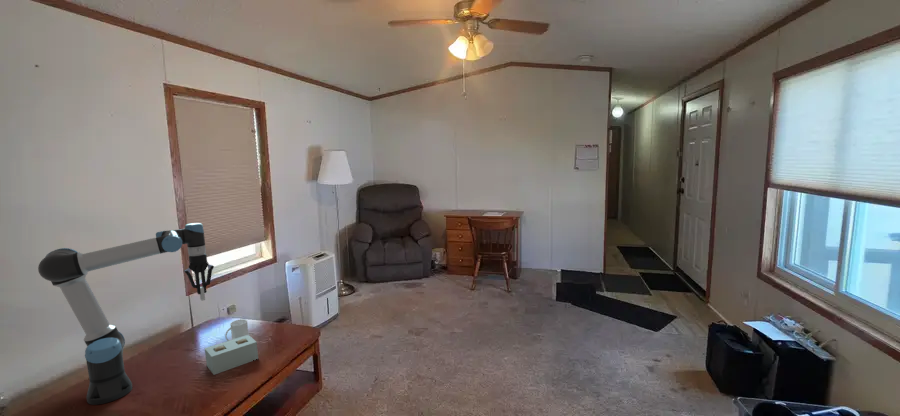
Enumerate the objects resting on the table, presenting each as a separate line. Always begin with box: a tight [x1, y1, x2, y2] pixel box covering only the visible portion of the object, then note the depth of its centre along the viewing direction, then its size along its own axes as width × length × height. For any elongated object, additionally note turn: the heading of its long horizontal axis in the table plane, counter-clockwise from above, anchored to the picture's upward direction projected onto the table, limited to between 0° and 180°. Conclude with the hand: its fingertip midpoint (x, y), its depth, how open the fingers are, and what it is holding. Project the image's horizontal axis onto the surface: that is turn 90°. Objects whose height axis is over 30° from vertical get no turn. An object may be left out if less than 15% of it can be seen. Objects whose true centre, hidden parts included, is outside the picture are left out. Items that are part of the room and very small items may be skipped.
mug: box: [224, 318, 250, 341], centre depth 218 cm, size 12×8×12 cm
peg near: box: [215, 346, 225, 352], centre depth 196 cm, size 4×4×8 cm
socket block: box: [204, 334, 259, 375], centre depth 200 cm, size 20×12×9 cm, turn 134°
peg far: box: [237, 339, 246, 345], centre depth 203 cm, size 4×4×8 cm
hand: (202, 299), depth 205 cm, fingers closed
